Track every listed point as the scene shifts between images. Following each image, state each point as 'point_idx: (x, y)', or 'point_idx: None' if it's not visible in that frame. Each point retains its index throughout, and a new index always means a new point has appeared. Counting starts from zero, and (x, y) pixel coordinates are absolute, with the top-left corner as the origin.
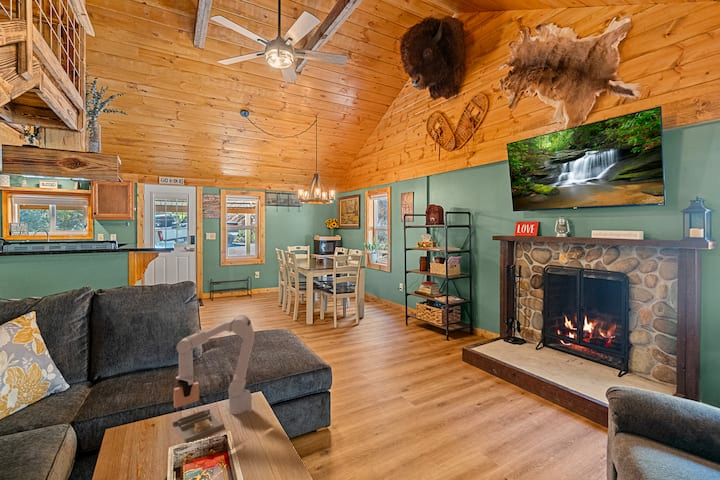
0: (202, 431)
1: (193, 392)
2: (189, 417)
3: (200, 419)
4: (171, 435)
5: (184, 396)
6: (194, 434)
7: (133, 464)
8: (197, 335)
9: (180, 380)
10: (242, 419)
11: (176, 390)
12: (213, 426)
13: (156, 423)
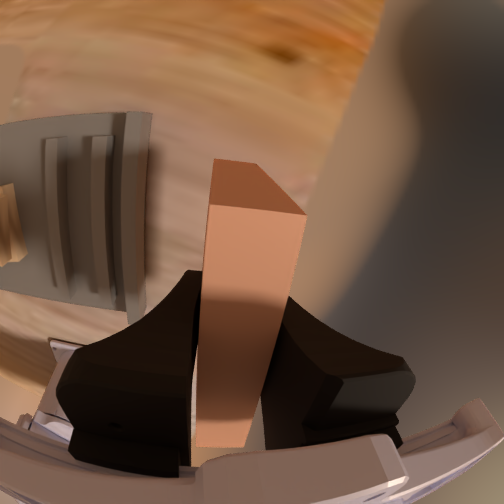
0: None
1: (197, 354)
2: (121, 212)
3: (52, 246)
4: (82, 89)
5: (191, 271)
6: None
7: None
8: None
9: (324, 410)
10: (38, 352)
11: (208, 226)
12: (10, 264)
13: (285, 70)
